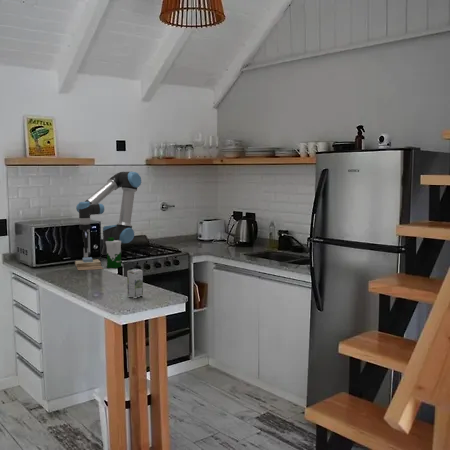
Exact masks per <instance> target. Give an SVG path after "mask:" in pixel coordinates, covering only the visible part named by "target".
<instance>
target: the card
mask: <svg viewBox="0 0 450 450" xmlns="http://www.w3.org/2000/svg"><path fill="white" fill-rule="evenodd" d="M82 260H83V262H84V263H85V262H93V260H94V259H93V257H92V256H88V257H84V256H83V257H82Z"/></svg>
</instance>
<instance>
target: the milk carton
mask: <svg viewBox="0 0 450 450" xmlns="http://www.w3.org/2000/svg"><path fill="white" fill-rule="evenodd" d="M121 245H122V243H121V241H119V240H114V238H108V241H106V247H107V256H106V260H107V261H106V268H107V269H119V268H122V248H121V247H122V246H121Z"/></svg>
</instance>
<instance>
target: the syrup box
mask: <svg viewBox="0 0 450 450" xmlns="http://www.w3.org/2000/svg"><path fill="white" fill-rule="evenodd" d="M126 272H127V273H126V274H127V279H126V280H127V297H128V296H130V297H138V296H141V295H143V296H144V292H143V291H144V283H143V282H144V281H143V280H144V277H143V275H144V272H143V270H142V269H139V268H133V269H129V270H127V271H126Z"/></svg>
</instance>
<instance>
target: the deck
mask: <svg viewBox="0 0 450 450" xmlns="http://www.w3.org/2000/svg"><path fill="white" fill-rule="evenodd" d="M74 264H75V265H74V266H75V268H77V267H91V266H101V267H102V262H101V261H100V259H98V258H97V259H93V262H85V263H84V262H83V260H74Z"/></svg>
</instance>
